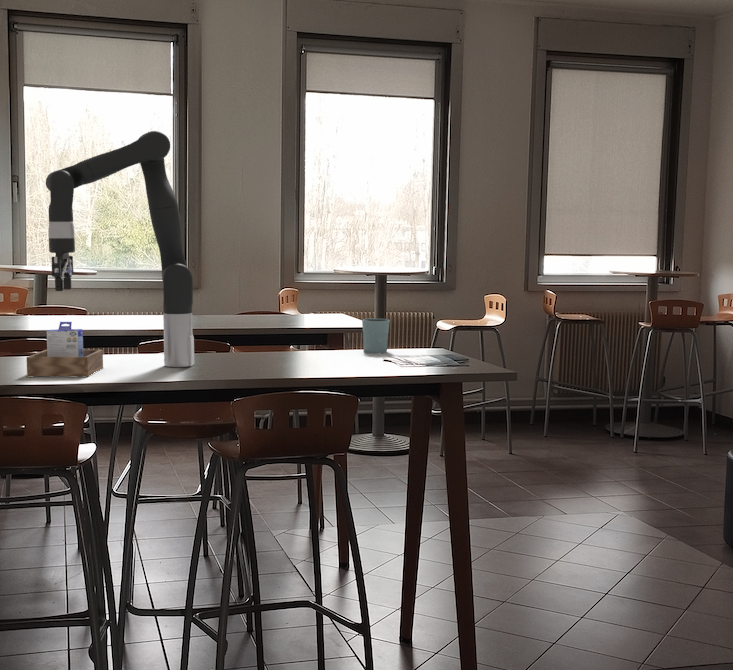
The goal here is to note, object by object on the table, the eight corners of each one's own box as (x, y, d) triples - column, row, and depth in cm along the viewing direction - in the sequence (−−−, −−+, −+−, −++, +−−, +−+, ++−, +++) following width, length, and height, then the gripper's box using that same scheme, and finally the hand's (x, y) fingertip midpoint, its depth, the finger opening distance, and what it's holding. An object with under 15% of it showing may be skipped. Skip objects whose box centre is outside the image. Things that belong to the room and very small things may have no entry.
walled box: (103, 368, 292) (102, 349, 291) (88, 377, 274) (87, 357, 273) (46, 368, 291) (45, 349, 290) (27, 377, 273) (26, 357, 272)
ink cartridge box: (84, 367, 285) (83, 321, 283) (79, 370, 279) (78, 323, 278) (52, 367, 284) (50, 321, 283) (47, 370, 279) (45, 323, 277)
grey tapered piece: (368, 349, 342) (368, 317, 341) (393, 351, 338) (393, 318, 337) (357, 352, 332) (358, 320, 331) (383, 354, 329) (384, 321, 328)
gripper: (67, 237, 271) (69, 291, 273) (80, 237, 285) (82, 288, 287) (41, 237, 270) (43, 291, 272) (56, 237, 285) (58, 289, 286)
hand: (63, 290), depth 279 cm, fingers open, 8 cm apart
